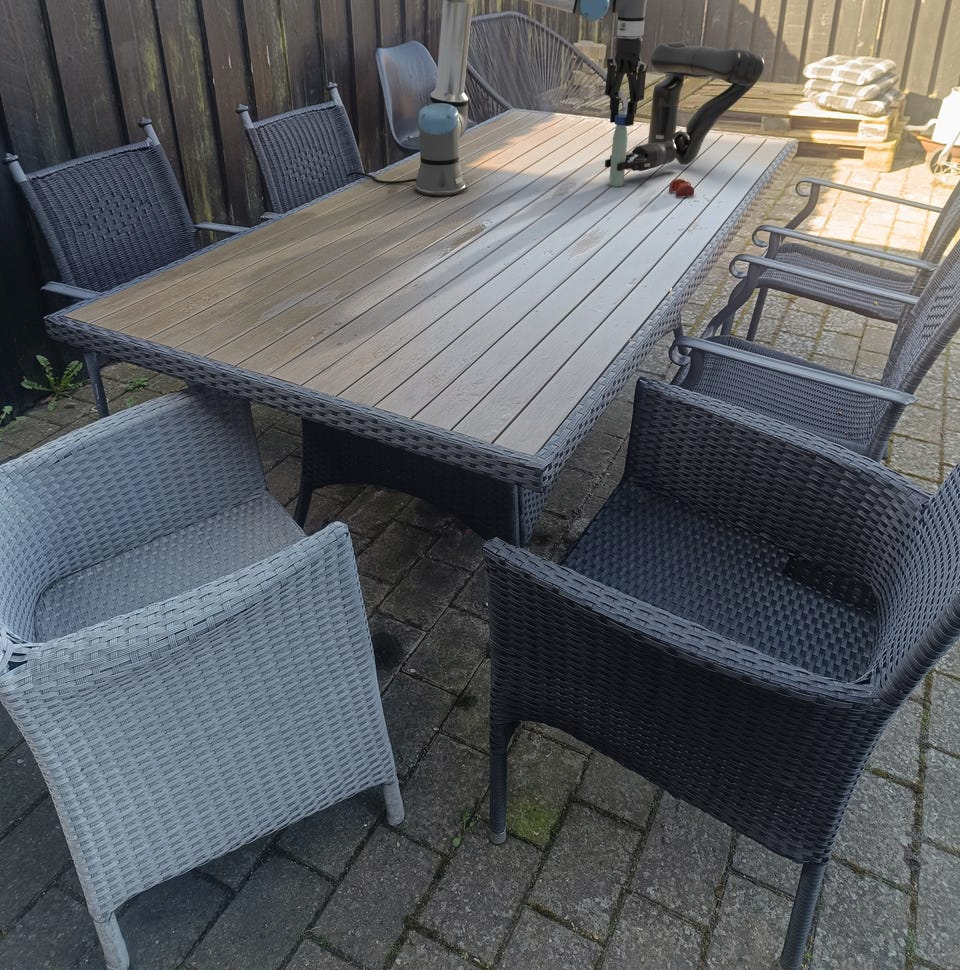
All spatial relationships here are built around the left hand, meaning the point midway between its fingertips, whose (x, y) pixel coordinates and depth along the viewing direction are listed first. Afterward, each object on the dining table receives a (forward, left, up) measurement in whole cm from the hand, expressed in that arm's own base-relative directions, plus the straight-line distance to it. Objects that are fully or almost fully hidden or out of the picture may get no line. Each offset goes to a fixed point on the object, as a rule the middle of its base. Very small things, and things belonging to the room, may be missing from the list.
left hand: (621, 123), depth 253 cm
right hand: (0, -3, -12) cm, 12 cm away
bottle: (0, 0, -18) cm, 18 cm away
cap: (0, 0, +2) cm, 2 cm away
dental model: (+21, +3, -18) cm, 28 cm away
